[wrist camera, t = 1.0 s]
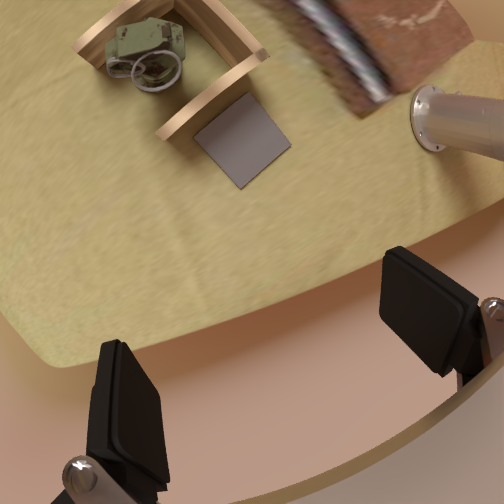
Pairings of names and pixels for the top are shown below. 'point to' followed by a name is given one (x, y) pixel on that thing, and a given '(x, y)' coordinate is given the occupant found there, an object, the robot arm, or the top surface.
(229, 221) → the top surface
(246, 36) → the light wood u-shaped frame
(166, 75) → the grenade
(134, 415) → the robot arm
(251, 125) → the coaster
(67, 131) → the top surface
